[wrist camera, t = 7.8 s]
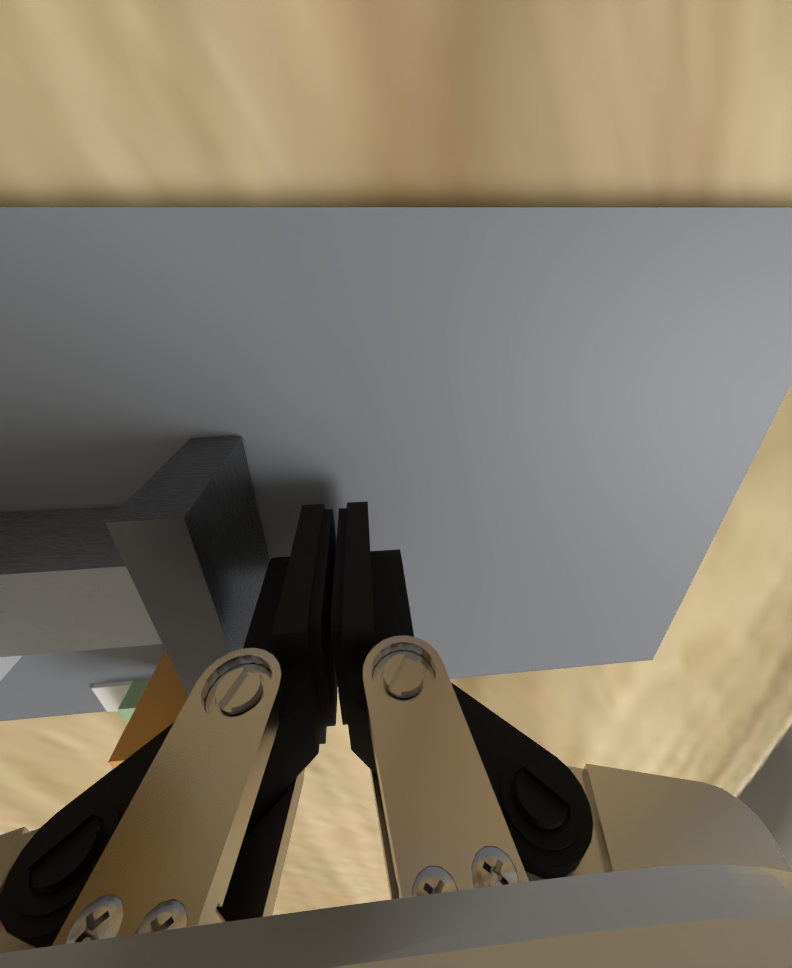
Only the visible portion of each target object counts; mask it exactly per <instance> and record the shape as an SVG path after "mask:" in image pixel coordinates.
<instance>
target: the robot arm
mask: <svg viewBox="0 0 792 968" xmlns="http://www.w3.org/2000/svg"><path fill="white" fill-rule="evenodd" d="M337 688H338V693H339V700H340V707H341V715H342V722H343V725H345V724H348V727H349V735H350V743H351V750H352V751H353V752H354V753H355V754H356V755H357V756H358V757H359V758H360V759H361V760H362V761H363V762H364V763H365V764H366V765H367V766H368V767H369V768H370V772H371V779H372V785H373V791H374V797H375V804H376V810H377V816H378V822H379V828H380V835H381V841H382V847H383V853H384V860H385V866H386V872H387V878H388V884H389V891H390V897H391V900H385V901H377V902H370V903H362V904H355V905H347V906H340V907H333V908H325V909H318V910H310V911H303V912H296V913H288V914H281V915H273V916H272V914H273V910H274V906H275V901H276V897H277V893H278V888H279V884H280V880H281V875H282V871H283V867H284V862H285V858H286V854H287V849H288V845H289V841H290V836H291V832H292V828H293V823H294V819H295V815H296V810H297V806H298V802H299V798H300V793H301V789H302V785H303V780H304V770H305V767H306V766H307V765H308V764H309V763H310V762H311V761H312V760H313V759H314V758H315V756H316V755H317V754H318V753H319V744H324V743H325V742H326V727H327V726H335V724H336V710H337ZM0 968H792V871H791V869H790V867H789V865H788V863H787V861H786V859H785V858H784V856H783V854H782V852H781V851H780V849H779V847H778V845H777V843H776V841H775V840H774V838H773V837H772V835H771V834H770V833H769V831H768V830H767V828H766V827H765V826H764V824H763V823H762V821H761V820H760V818H759V817H757V816H756V815H755V814H754V813H753V812H752V811H751V810H750V809H749V808H748V807H747V806H746V805H745V804H744V803H743V802H742V801H740V800H739V799H737V798H736V797H734V796H733V795H731V794H730V793H728V792H727V791H725V790H723V789H722V788H719V787H716V786H713V785H710V784H707V783H704V782H698V781H691V780H685V779H679V778H672V777H666V776H660V775H654V774H647V773H641V772H635V771H629V770H622V769H616V768H610V767H604V766H597V765H591V764H586V765H585V767H584V769H581V768H575V767H569V766H566V765H565V764H564V763H562V762H561V761H560V760H559V759H558V758H557V757H555V756H554V755H553V754H551V753H550V752H548V751H547V750H546V749H544V748H543V747H541V746H540V745H539V744H537V743H536V742H534V741H533V740H532V739H530V738H529V737H527V736H526V735H524V734H523V733H522V732H520V731H519V730H517V729H516V728H515V727H513V726H512V725H510V724H509V723H508V722H506V721H505V720H503V719H502V718H501V717H499V716H498V715H496V714H495V713H493V712H492V711H491V710H489V709H488V708H486V707H485V706H484V705H482V704H481V703H479V702H478V701H477V700H475V699H474V698H472V697H471V696H469V695H468V694H467V693H465V692H464V691H462V690H461V689H460V688H458V687H457V686H455V685H454V684H453V683H451V681H450V679H449V676H448V674H447V671H446V669H445V666H444V664H443V661H442V659H441V658H440V656H439V654H438V652H437V651H436V650H435V649H434V648H433V647H432V646H431V645H430V644H429V643H427V642H425V641H423V640H421V639H419V638H417V637H414V632H413V626H412V620H411V613H410V607H409V601H408V594H407V588H406V582H405V576H404V569H403V563H402V557H401V551H400V549H397V550H382V551H370V536H369V516H368V501H366V502H348V503H347V508H339V514H338V527H337V541H336V532H335V522H334V513H333V509H325V505H324V504H311V505H302V508H301V512H300V516H299V521H298V525H297V529H296V533H295V538H294V542H293V546H292V550H291V555H290V556H288V557H273V558H271V559H270V562H269V564H268V567H267V571H266V574H265V577H264V581H263V584H262V587H261V590H260V594H259V597H258V600H257V604H256V607H255V610H254V614H253V617H252V620H251V623H250V627H249V630H248V633H247V637H246V640H245V643H244V647H243V649H239V650H236V651H233V652H230V653H228V654H226V655H224V656H223V657H221V658H219V659H218V660H216V661H215V662H214V663H213V664H211V665H210V666H209V667H208V668H207V669H206V670H205V671H204V672H203V674H202V675H201V677H200V678H199V679H198V681H197V682H196V684H195V686H194V687H193V689H192V691H191V693H190V695H189V697H188V698H187V700H186V702H185V704H184V706H183V708H182V709H181V711H180V713H179V715H178V717H177V718H176V720H175V722H173V723H172V724H171V725H170V726H168V727H167V728H166V729H164V730H163V731H162V732H160V733H159V734H158V735H157V736H155V737H154V738H153V739H151V740H150V741H149V742H148V743H146V744H145V745H144V746H142V747H141V748H140V749H139V750H137V751H136V752H135V753H133V754H132V755H131V756H130V757H128V758H127V759H126V760H124V761H123V762H122V763H121V764H119V765H118V766H117V767H115V768H114V769H113V770H112V771H110V772H109V773H108V774H106V775H105V776H104V777H103V778H101V779H100V780H99V781H97V782H96V783H95V784H94V785H92V786H91V787H90V788H88V789H87V790H86V791H85V792H83V793H82V794H81V795H79V796H78V797H77V798H75V799H74V800H73V801H72V802H70V803H69V804H68V805H66V806H65V807H64V808H63V809H61V810H60V811H59V812H57V813H56V814H55V815H54V816H53V817H52V818H51V819H50V820H49V821H48V822H46V823H45V824H44V825H43V826H42V827H41V828H39V829H36V830H34V831H31V832H30V831H29V830H28V829H27V828H25V827H23V828H20V829H17V830H14V831H11V832H8V833H5V834H2V835H0Z"/></svg>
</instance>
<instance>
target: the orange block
mask: <svg viewBox="0 0 792 968" xmlns="http://www.w3.org/2000/svg"><path fill="white" fill-rule="evenodd" d="M187 698H188V696H187V694H186V692H185V690H184V688H183V686H182V684H181V682H180V680H179V677H178V675H177V673H176V671H175V669H174V667H173V665H172V663H171V661H170V658H169V656H168V654H167V652H166V650H165V651H164V653H163V655H162V657H161V659H160V661H159V663H158V665H157V667H156V669H155V671H154V673H153V675H152V677H151V679H150V681H149V683H148V685H147V687H146V689H145V691H144V693H143V695H142V696H141V698H140V700H139V702H138V704H137V706H136V708H135V710H134V712H133V714H132V716H131V718H130V720H129V722H128V724H127V726H126V728H125V730H124V732H123V734H122V736H121V738H120V740H119V742H118V744H117V746H116V748H115V750H114V752H113V754H112V756H111V757H110V759H109V761H108V762H109V764H110V765H111V766H112V768H113V769H114V768H115V767H117V766H118V765H119V764H121V763H122V762H123V761H124V760H126V759H127V758H128V757H130V756H131V755H132V754H133V753H135V752H136V751H137V750H139V749H140V748H141V747H142V746H144V745H145V744H146V743H148V742H149V741H150V740H151V739H153V738H154V737H155V736H157V735H158V734H159V733H160V732H162V731H163V730H164V729H166V728H167V727H168V726H170V725H171V724H172V723H173V722H175V720H176V718H177V717H178V715H179V713H180V711H181V709H182V708H183V706H184V704H185V702H186V700H187Z"/></svg>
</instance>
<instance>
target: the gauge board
mask: <svg viewBox="0 0 792 968" xmlns="http://www.w3.org/2000/svg"><path fill="white" fill-rule="evenodd" d="M791 383H792V208H775V207H0V514H7V513H24V512H42V511H60V510H78V509H96V508H114V507H121V506H122V505H123V504H124V503H125V502H126V501H127V500H128V499H129V498H130V497H131V496H132V495H133V494H134V493H135V492H136V491H137V490H138V489H140V488H141V487H142V486H143V485H144V484H145V483H146V482H147V481H148V480H149V479H150V478H151V477H152V476H153V475H154V474H155V473H156V472H157V471H158V470H159V469H160V468H161V467H162V466H163V465H164V464H165V463H166V462H167V461H168V460H169V459H170V458H171V457H172V456H173V455H174V454H175V453H176V452H177V451H178V450H179V449H180V448H181V447H182V446H183V445H184V444H185V443H186V442H187V441H188V440H189V439H190V438H209V437H232V436H242V440H243V444H244V449H245V453H246V458H247V462H248V467H249V471H250V475H251V480H252V484H253V489H254V493H255V497H256V502H257V506H258V511H259V515H260V519H261V524H262V528H263V533H264V537H265V542H266V546H267V550H268V555H269V559H271V558H273V557H288V556H290V555H291V550H292V546H293V542H294V538H295V533H296V529H297V525H298V521H299V516H300V512H301V508H302V505H311V504H324V505H325V509H333V513H334V522H335V532H336V541H337V527H338V514H339V508H347V503H348V502H366V501H368V516H369V536H370V551H382V550H397V549H400V551H401V557H402V563H403V569H404V576H405V582H406V588H407V594H408V601H409V607H410V613H411V620H412V626H413V632H414V637H417V638H419V639H421V640H423V641H425V642H427V643H429V644H430V645H431V646H432V647H433V648H434V649H435V650H436V651H437V652H438V654H439V656H440V658H441V659H442V661H443V664H444V666H445V669H446V671H447V674H448V676H449V679H454V678H465V677H475V676H486V675H496V674H507V673H518V672H528V671H539V670H550V669H560V668H571V667H582V666H592V665H603V664H613V663H624V662H635V661H645V660H653V658H654V656H655V654H656V652H657V650H658V648H659V646H660V644H661V642H662V640H663V638H664V636H665V634H666V632H667V630H668V628H669V626H670V624H671V622H672V620H673V618H674V616H675V614H676V612H677V610H678V608H679V606H680V604H681V602H682V600H683V598H684V596H685V594H686V592H687V590H688V588H689V586H690V584H691V582H692V580H693V578H694V576H695V574H696V572H697V570H698V568H699V566H700V564H701V562H702V560H703V558H704V556H705V554H706V552H707V550H708V548H709V546H710V544H711V542H712V540H713V538H714V536H715V534H716V532H717V530H718V528H719V526H720V524H721V522H722V520H723V518H724V516H725V514H726V512H727V510H728V508H729V506H730V504H731V502H732V500H733V498H734V496H735V494H736V492H737V490H738V489H739V487H740V485H741V483H742V481H743V479H744V477H745V475H746V473H747V471H748V469H749V467H750V465H751V463H752V461H753V459H754V457H755V455H756V453H757V451H758V449H759V447H760V445H761V443H762V441H763V439H764V437H765V435H766V433H767V431H768V429H769V427H770V425H771V423H772V421H773V419H774V417H775V415H776V413H777V411H778V409H779V407H780V405H781V403H782V401H783V399H784V397H785V395H786V393H787V391H788V389H789V387H790V385H791ZM164 651H165V648H164V646H163V644H156V645H143V646H131V647H119V648H107V649H95V650H83V651H71V652H58V653H46V654H34V655H22V656H10V657H0V721H7V720H18V719H29V718H39V717H50V716H61V715H71V714H82V713H93V712H103V711H107V712H112V711H119V712H120V714H121V715H122V717H123V719H124V720H125V722H126V723H127V724H128V722H129V720H130V718H131V716H132V714H133V712H134V710H135V708H136V706H137V704H138V702H139V700H140V698H141V696H142V695H143V693H144V691H145V689H146V687H147V685H148V683H149V681H150V679H151V677H152V675H153V673H154V671H155V669H156V667H157V665H158V663H159V661H160V659H161V657H162V655H163V653H164ZM337 690H338V688H337Z"/></svg>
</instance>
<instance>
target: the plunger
mask: <svg viewBox="0 0 792 968" xmlns="http://www.w3.org/2000/svg"><path fill="white" fill-rule="evenodd" d="M269 562H270V559H269V555H268V550H267V546H266V542H265V537H264V533H263V528H262V524H261V519H260V515H259V511H258V506H257V502H256V497H255V493H254V489H253V484H252V480H251V475H250V471H249V467H248V462H247V458H246V453H245V449H244V444H243V440H242V436H232V437H209V438H190V439H189V440H188V441H187V442H186V443H185V444H184V445H183V446H182V447H181V448H180V449H179V450H178V451H177V452H176V453H175V454H174V455H173V456H172V457H171V458H170V459H169V460H168V461H167V462H166V463H165V464H164V465H163V466H162V467H161V468H160V469H159V470H158V471H157V472H156V473H155V474H154V475H153V476H152V477H151V478H150V479H149V480H148V481H147V482H146V483H145V484H144V485H143V486H142V487H141V488H140V489H138V490H137V491H136V492H135V493H134V494H133V495H132V496H131V497H130V498H129V499H128V500H127V501H126V502H125V503H124V504H123V505H122V506H121V507H114V508H96V509H78V510H60V511H42V512H24V513H7V514H0V657H10V656H22V655H34V654H46V653H58V652H71V651H83V650H95V649H107V648H119V647H131V646H143V645H156V644H163V646H164V648H165V650H166V652H167V654H168V656H169V658H170V661H171V663H172V665H173V667H174V669H175V671H176V673H177V675H178V677H179V680H180V682H181V684H182V686H183V688H184V690H185V692H186V694H187V696H188V697H189V695H190V693H191V691H192V689H193V687H194V686H195V684H196V682H197V681H198V679H199V678H200V677H201V675H202V674H203V672H204V671H205V670H206V669H207V668H208V667H209V666H210V665H211V664H213V663H214V662H215V661H216V660H218V659H219V658H221V657H223V656H224V655H226V654H228V653H230V652H233V651H236V650H239V649H243V647H244V643H245V640H246V637H247V633H248V630H249V627H250V623H251V620H252V617H253V614H254V610H255V607H256V604H257V600H258V597H259V594H260V590H261V587H262V584H263V581H264V577H265V574H266V571H267V567H268V564H269Z"/></svg>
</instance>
